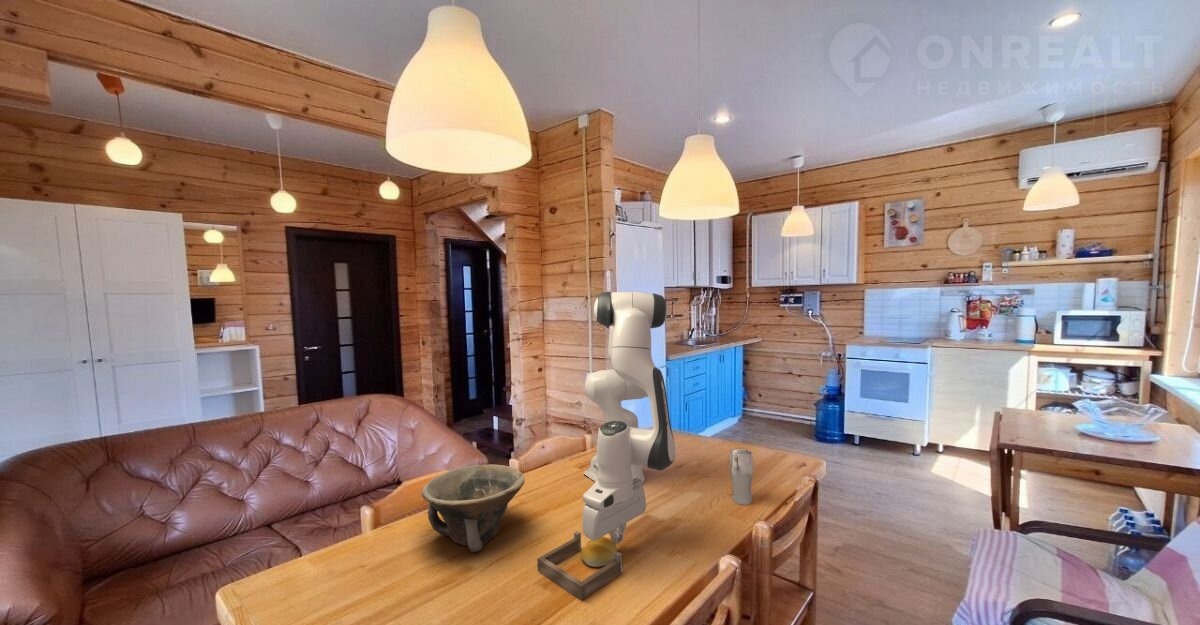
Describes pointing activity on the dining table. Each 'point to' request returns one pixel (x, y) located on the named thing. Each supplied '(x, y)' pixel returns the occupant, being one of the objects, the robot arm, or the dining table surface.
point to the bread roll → (599, 552)
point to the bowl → (471, 502)
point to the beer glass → (741, 475)
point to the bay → (568, 581)
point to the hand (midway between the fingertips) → (617, 542)
